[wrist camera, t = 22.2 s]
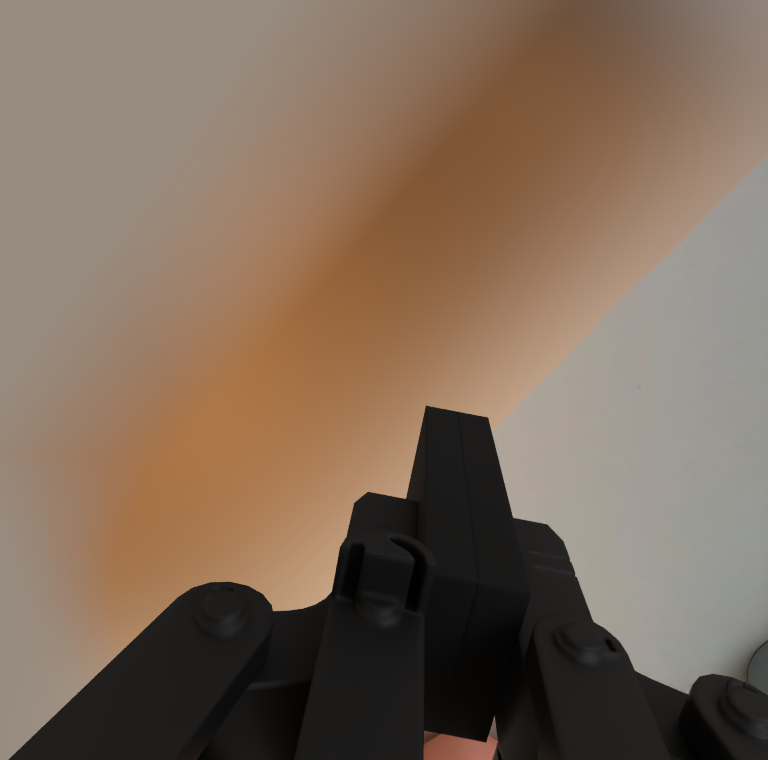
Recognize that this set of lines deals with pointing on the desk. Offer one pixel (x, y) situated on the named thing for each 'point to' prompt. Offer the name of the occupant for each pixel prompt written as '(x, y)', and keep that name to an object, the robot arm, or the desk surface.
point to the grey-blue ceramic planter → (759, 669)
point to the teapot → (459, 748)
